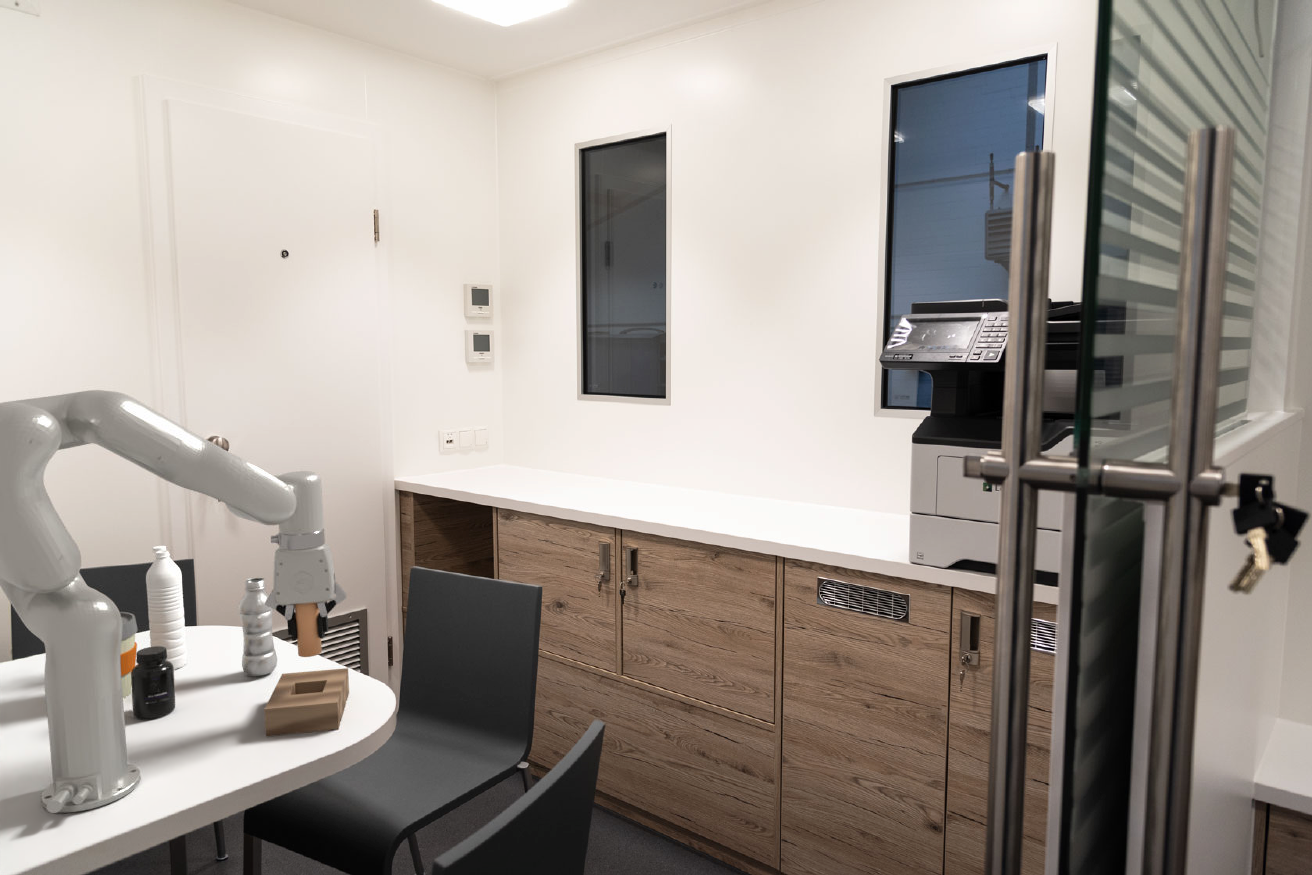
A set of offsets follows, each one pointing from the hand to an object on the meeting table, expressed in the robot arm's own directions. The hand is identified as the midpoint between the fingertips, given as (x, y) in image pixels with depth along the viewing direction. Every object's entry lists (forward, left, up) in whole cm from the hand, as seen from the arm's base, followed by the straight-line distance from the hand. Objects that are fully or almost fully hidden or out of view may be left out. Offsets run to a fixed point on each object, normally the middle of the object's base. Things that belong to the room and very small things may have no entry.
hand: (308, 635), depth 153 cm
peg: (0, 0, -3) cm, 3 cm away
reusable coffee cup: (+17, +40, -15) cm, 46 cm away
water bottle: (+32, +33, -15) cm, 48 cm away
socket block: (0, 0, -15) cm, 15 cm away
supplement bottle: (+7, +28, -15) cm, 33 cm away
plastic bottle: (+22, +13, -15) cm, 30 cm away
